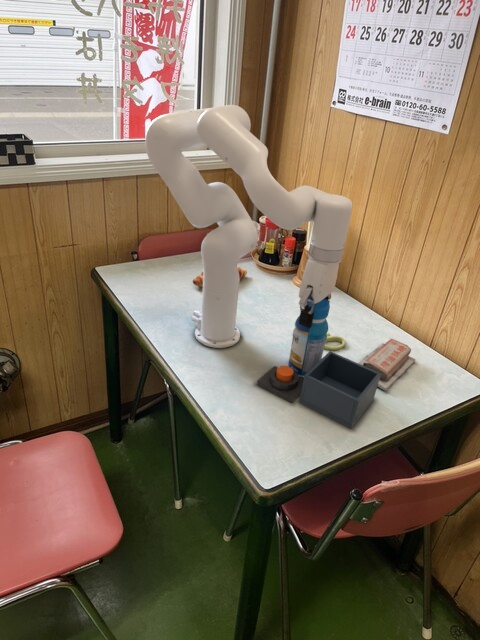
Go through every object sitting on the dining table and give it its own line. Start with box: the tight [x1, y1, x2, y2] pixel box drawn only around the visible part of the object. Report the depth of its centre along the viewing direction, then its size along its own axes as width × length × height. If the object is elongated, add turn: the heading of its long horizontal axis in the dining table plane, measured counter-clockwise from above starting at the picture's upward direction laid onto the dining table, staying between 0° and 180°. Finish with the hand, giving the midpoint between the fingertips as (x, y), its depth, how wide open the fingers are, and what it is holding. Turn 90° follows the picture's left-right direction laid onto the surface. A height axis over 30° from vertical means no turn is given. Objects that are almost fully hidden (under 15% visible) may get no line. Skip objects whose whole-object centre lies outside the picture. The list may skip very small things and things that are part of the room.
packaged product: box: [358, 338, 416, 392], centre depth 126 cm, size 18×5×10 cm
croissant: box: [192, 266, 248, 288], centre depth 160 cm, size 21×10×8 cm, turn 126°
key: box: [324, 332, 346, 351], centre depth 136 cm, size 7×12×2 cm, turn 43°
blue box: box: [299, 350, 381, 429], centre depth 112 cm, size 13×13×8 cm
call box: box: [256, 365, 304, 404], centre depth 117 cm, size 10×8×3 cm
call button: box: [276, 365, 293, 382], centre depth 115 cm, size 4×4×2 cm
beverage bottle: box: [287, 297, 331, 379], centre depth 119 cm, size 8×8×20 cm
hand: (313, 318), depth 116 cm, fingers open, 7 cm apart
